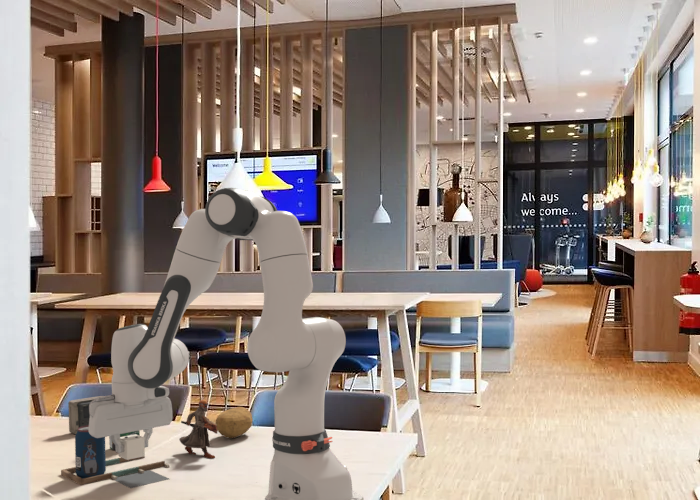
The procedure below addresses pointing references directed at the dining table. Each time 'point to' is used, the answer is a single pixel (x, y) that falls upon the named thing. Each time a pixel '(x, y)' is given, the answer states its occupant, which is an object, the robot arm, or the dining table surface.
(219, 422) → the potato
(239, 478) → the dining table surface
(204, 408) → the figurine
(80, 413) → the camera
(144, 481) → the mat
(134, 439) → the die
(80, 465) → the soda can
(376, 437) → the dining table surface
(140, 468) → the track
